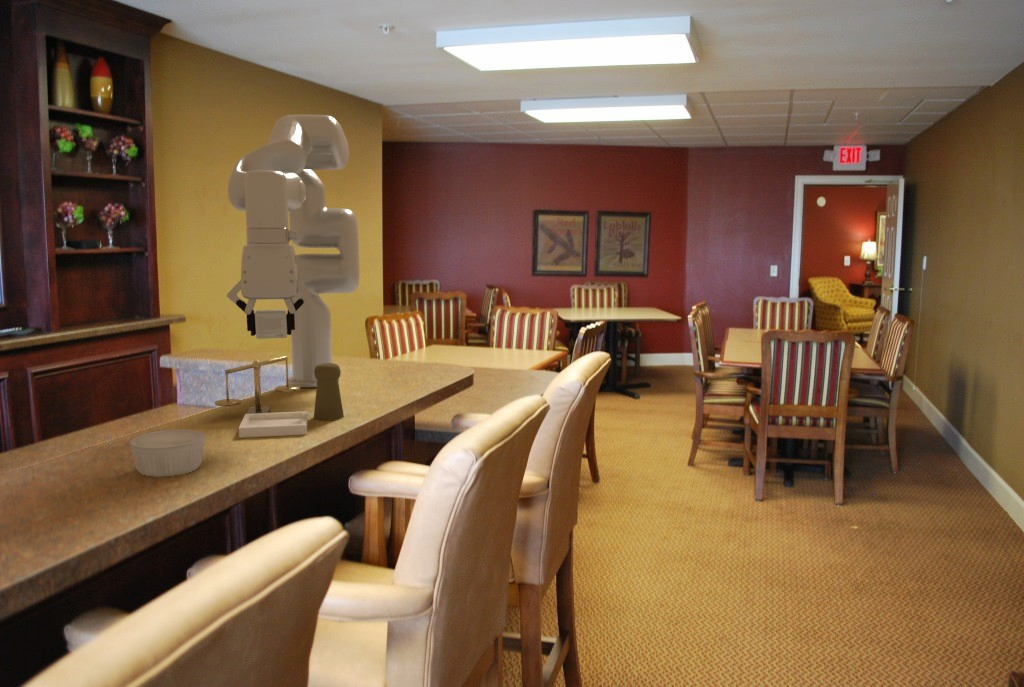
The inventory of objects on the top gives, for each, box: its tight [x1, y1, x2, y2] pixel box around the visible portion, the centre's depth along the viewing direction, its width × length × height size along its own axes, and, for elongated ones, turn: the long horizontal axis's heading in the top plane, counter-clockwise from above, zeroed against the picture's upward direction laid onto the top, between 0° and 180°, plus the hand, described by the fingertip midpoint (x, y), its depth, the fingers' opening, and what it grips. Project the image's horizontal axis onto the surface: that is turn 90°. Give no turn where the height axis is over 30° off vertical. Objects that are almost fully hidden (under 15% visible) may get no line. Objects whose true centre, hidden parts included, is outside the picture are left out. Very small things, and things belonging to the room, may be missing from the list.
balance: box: [214, 355, 301, 414], centre depth 172 cm, size 6×17×12 cm, turn 102°
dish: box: [238, 410, 309, 439], centre depth 162 cm, size 12×12×2 cm
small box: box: [254, 309, 288, 340], centre depth 159 cm, size 6×6×5 cm
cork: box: [313, 362, 345, 421], centre depth 171 cm, size 6×6×11 cm
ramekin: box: [129, 429, 206, 478], centre depth 135 cm, size 11×11×5 cm
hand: (271, 333), depth 160 cm, fingers closed on small box, 5 cm apart
